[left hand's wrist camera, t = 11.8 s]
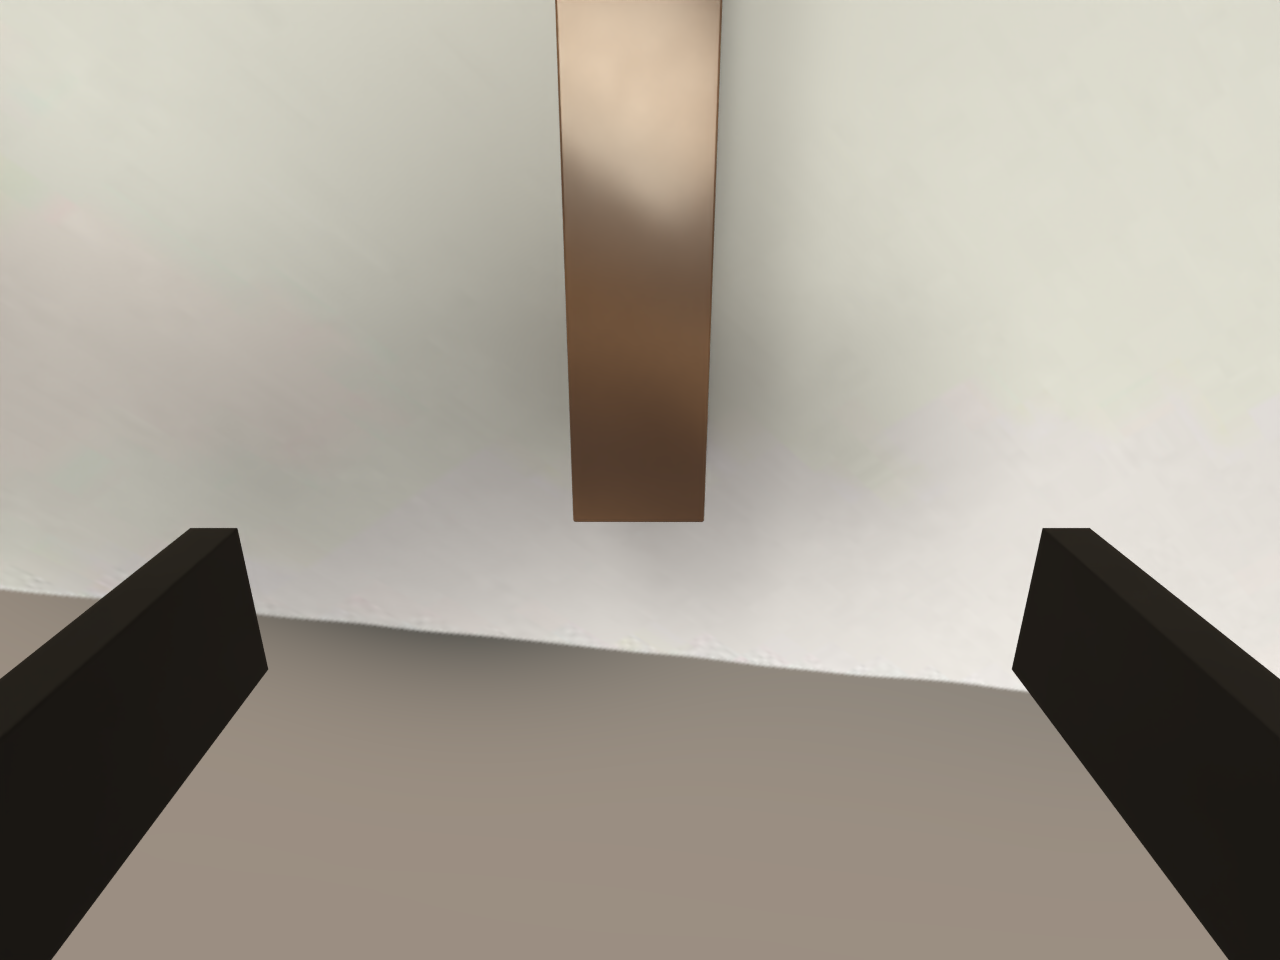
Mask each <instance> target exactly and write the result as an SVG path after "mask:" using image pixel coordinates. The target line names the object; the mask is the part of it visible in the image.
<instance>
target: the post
mask: <svg viewBox="0 0 1280 960" xmlns="http://www.w3.org/2000/svg"><path fill="white" fill-rule="evenodd" d="M555 9H556V37H557V66H558V95H559V123H560V152H561V180H562V209H563V238H564V266H565V295H566V324H567V352H568V381H569V410H570V438H571V467H572V495H573V520H574V521H575V522H703V521H704V505H705V476H706V448H707V420H708V392H709V363H710V335H711V307H712V278H713V250H714V222H715V194H716V165H717V137H718V109H719V80H720V52H721V24H722V0H555Z"/></svg>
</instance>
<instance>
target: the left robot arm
mask: <svg viewBox="0 0 1280 960" xmlns="http://www.w3.org/2000/svg"><path fill="white" fill-rule="evenodd" d="M267 670H268V666H267V662H266V657H265V653H264V648H263V644H262V639H261V634H260V630H259V625H258V621H257V616H256V611H255V607H254V602H253V598H252V593H251V589H250V584H249V579H248V575H247V570H246V566H245V561H244V557H243V552H242V547H241V543H240V538H239V534H238V529H237V528H190V529H189V530H187V531H186V532H185V533H184V534H182V535H181V536H180V537H179V538H177V539H176V540H175V541H174V542H172V543H171V544H170V545H168V546H167V547H166V548H165V549H163V550H162V551H161V552H160V553H158V554H157V555H156V556H155V557H153V558H152V559H151V560H150V561H148V562H147V563H146V564H145V565H143V566H142V567H141V568H139V569H138V570H137V571H136V572H134V573H133V574H132V575H131V576H129V577H128V578H127V579H126V580H124V581H123V582H122V583H121V584H119V585H118V586H117V587H116V588H114V589H113V590H112V591H111V592H109V593H108V594H107V595H105V596H104V597H103V598H102V599H100V600H99V601H98V602H97V603H95V604H94V605H93V606H92V607H90V608H89V609H88V610H87V611H85V612H84V613H83V614H82V615H80V616H79V617H78V618H77V619H75V620H74V621H73V622H72V623H70V624H69V625H68V626H66V627H65V628H64V629H63V630H61V631H60V632H59V633H58V634H56V635H55V636H54V637H53V638H51V639H50V640H49V641H47V642H46V643H45V644H44V645H42V646H41V647H40V648H39V649H37V650H36V651H35V652H34V653H32V654H31V655H30V656H29V657H27V658H26V659H25V660H24V661H22V662H21V663H20V664H19V665H17V666H16V667H15V668H13V669H12V670H11V671H10V672H8V673H7V674H6V675H5V676H3V677H2V678H1V679H0V960H51V959H52V958H53V957H54V955H55V954H56V953H57V951H58V950H59V949H60V947H61V946H62V945H63V943H64V942H65V941H66V939H67V938H68V937H69V935H70V934H71V933H72V931H73V930H74V929H75V927H76V926H77V925H78V923H79V922H80V921H81V919H82V918H83V917H84V915H85V914H86V913H87V911H88V910H89V909H90V907H91V906H92V905H93V903H94V902H95V901H96V899H97V898H98V896H99V895H100V894H101V892H102V891H103V890H104V888H105V887H106V886H107V884H108V883H109V882H110V880H111V879H112V878H113V876H114V875H115V874H116V872H117V871H118V870H119V868H120V867H121V866H122V864H123V863H124V862H125V860H126V859H127V858H128V856H129V855H130V854H131V852H132V851H133V850H134V848H135V847H136V846H137V844H138V843H139V842H140V840H141V839H142V838H143V836H144V835H145V834H146V832H147V831H148V830H149V828H150V827H151V826H152V824H153V823H154V821H155V820H156V819H157V818H158V816H159V815H160V813H161V812H162V811H163V809H164V808H165V807H166V805H167V804H168V803H169V801H170V800H171V799H172V797H173V796H174V795H175V793H176V792H177V791H178V789H179V788H180V787H181V785H182V784H183V783H184V781H185V780H186V779H187V777H188V776H189V775H190V773H191V772H192V771H193V769H194V768H195V767H196V765H197V764H198V763H199V761H200V760H201V759H202V757H203V756H204V755H205V753H206V752H207V750H208V749H209V748H210V747H211V745H212V744H213V743H214V741H215V740H216V739H217V737H218V736H219V734H220V733H221V732H222V730H223V729H224V728H225V726H226V725H227V724H228V722H229V721H230V720H231V718H232V717H233V716H234V714H235V713H236V712H237V710H238V709H239V708H240V706H241V705H242V704H243V702H244V701H245V700H246V698H247V697H248V696H249V694H250V693H251V692H252V690H253V689H254V688H255V686H256V685H257V684H258V682H259V681H260V680H261V678H262V677H263V676H264V674H265V673H266V672H267ZM1012 670H1013V672H1014V673H1015V674H1016V676H1017V677H1018V678H1019V680H1020V681H1021V682H1022V684H1023V685H1024V686H1025V688H1026V689H1027V690H1028V692H1029V693H1030V694H1031V696H1032V697H1033V698H1034V700H1035V701H1036V702H1037V704H1038V705H1039V706H1040V708H1041V709H1042V710H1043V712H1044V713H1045V714H1046V716H1047V717H1048V718H1049V720H1050V721H1051V722H1052V724H1053V725H1054V726H1055V728H1056V729H1057V730H1058V732H1059V733H1060V734H1061V736H1062V737H1063V739H1064V740H1065V741H1066V743H1067V744H1068V745H1069V747H1070V748H1071V749H1072V751H1073V752H1074V753H1075V755H1076V756H1077V757H1078V759H1079V760H1080V761H1081V763H1082V764H1083V765H1084V767H1085V768H1086V769H1087V771H1088V772H1089V773H1090V775H1091V776H1092V777H1093V779H1094V780H1095V781H1096V783H1097V784H1098V785H1099V787H1100V788H1101V789H1102V791H1103V792H1104V793H1105V795H1106V796H1107V797H1108V799H1109V800H1110V801H1111V803H1112V804H1113V805H1114V807H1115V808H1116V809H1117V811H1118V812H1119V814H1120V815H1121V816H1122V818H1123V819H1124V820H1125V822H1126V823H1127V824H1128V826H1129V827H1130V828H1131V830H1132V831H1133V832H1134V834H1135V835H1136V836H1137V838H1138V839H1139V840H1140V842H1141V843H1142V844H1143V845H1144V847H1145V848H1146V850H1147V851H1148V852H1149V854H1150V855H1151V856H1152V858H1153V859H1154V860H1155V862H1156V863H1157V864H1158V866H1159V867H1160V868H1161V870H1162V871H1163V872H1164V874H1165V875H1166V876H1167V878H1168V879H1169V880H1170V882H1171V883H1172V884H1173V886H1174V887H1175V888H1176V890H1177V891H1178V893H1179V894H1180V895H1181V896H1182V898H1183V899H1184V900H1185V902H1186V903H1187V905H1188V906H1189V907H1190V909H1191V910H1192V911H1193V913H1194V914H1195V915H1196V917H1197V918H1198V919H1199V921H1200V922H1201V923H1202V925H1203V926H1204V927H1205V929H1206V930H1207V931H1208V933H1209V934H1210V935H1211V937H1212V938H1213V939H1214V941H1215V942H1216V943H1217V945H1218V946H1219V947H1220V949H1221V950H1222V951H1223V953H1224V954H1225V955H1226V957H1227V958H1228V959H1229V960H1280V679H1279V678H1278V677H1277V676H1275V675H1274V674H1273V673H1272V672H1270V671H1269V670H1268V669H1267V668H1265V667H1264V666H1263V665H1261V664H1260V663H1259V662H1258V661H1256V660H1255V659H1254V658H1253V657H1251V656H1250V655H1249V654H1248V653H1246V652H1245V651H1244V650H1243V649H1241V648H1240V647H1239V646H1238V645H1236V644H1235V643H1234V642H1233V641H1231V640H1230V639H1229V638H1227V637H1226V636H1225V635H1224V634H1222V633H1221V632H1220V631H1219V630H1217V629H1216V628H1215V627H1214V626H1212V625H1211V624H1210V623H1209V622H1207V621H1206V620H1205V619H1204V618H1202V617H1201V616H1200V615H1198V614H1197V613H1196V612H1195V611H1193V610H1192V609H1191V608H1190V607H1188V606H1187V605H1186V604H1185V603H1183V602H1182V601H1181V600H1180V599H1178V598H1177V597H1176V596H1175V595H1173V594H1172V593H1171V592H1169V591H1168V590H1167V589H1166V588H1164V587H1163V586H1162V585H1161V584H1159V583H1158V582H1157V581H1156V580H1154V579H1153V578H1152V577H1151V576H1149V575H1148V574H1147V573H1146V572H1144V571H1143V570H1142V569H1141V568H1139V567H1138V566H1137V565H1135V564H1134V563H1133V562H1132V561H1130V560H1129V559H1128V558H1127V557H1125V556H1124V555H1123V554H1122V553H1120V552H1119V551H1118V550H1117V549H1115V548H1114V547H1113V546H1112V545H1110V544H1109V543H1108V542H1106V541H1105V540H1104V539H1103V538H1101V537H1100V536H1099V535H1098V534H1096V533H1095V532H1094V531H1093V530H1091V529H1090V528H1043V529H1042V534H1041V538H1040V543H1039V547H1038V552H1037V556H1036V561H1035V566H1034V570H1033V575H1032V579H1031V584H1030V589H1029V593H1028V598H1027V602H1026V607H1025V611H1024V616H1023V621H1022V625H1021V630H1020V634H1019V639H1018V643H1017V648H1016V653H1015V657H1014V662H1013V666H1012Z"/></svg>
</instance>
